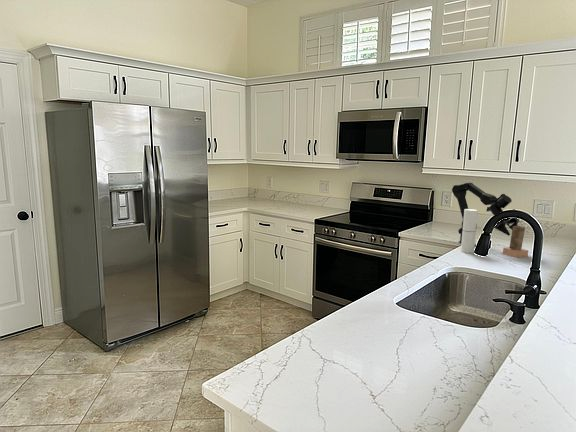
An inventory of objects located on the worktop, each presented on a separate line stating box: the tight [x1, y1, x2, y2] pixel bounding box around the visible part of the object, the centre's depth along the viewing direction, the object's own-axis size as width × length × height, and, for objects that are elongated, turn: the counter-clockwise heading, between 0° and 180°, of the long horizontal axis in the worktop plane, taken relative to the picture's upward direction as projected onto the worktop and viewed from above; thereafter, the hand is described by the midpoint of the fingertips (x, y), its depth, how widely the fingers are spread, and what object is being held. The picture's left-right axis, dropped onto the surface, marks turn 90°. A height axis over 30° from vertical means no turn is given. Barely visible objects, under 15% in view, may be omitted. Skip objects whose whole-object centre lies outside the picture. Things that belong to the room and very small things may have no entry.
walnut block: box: [508, 225, 526, 250], centre depth 231 cm, size 4×4×13 cm
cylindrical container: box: [460, 208, 478, 254], centre depth 238 cm, size 7×7×25 cm
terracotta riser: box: [502, 246, 529, 258], centre depth 233 cm, size 9×9×4 cm
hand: (514, 234), depth 233 cm, fingers open, 9 cm apart
